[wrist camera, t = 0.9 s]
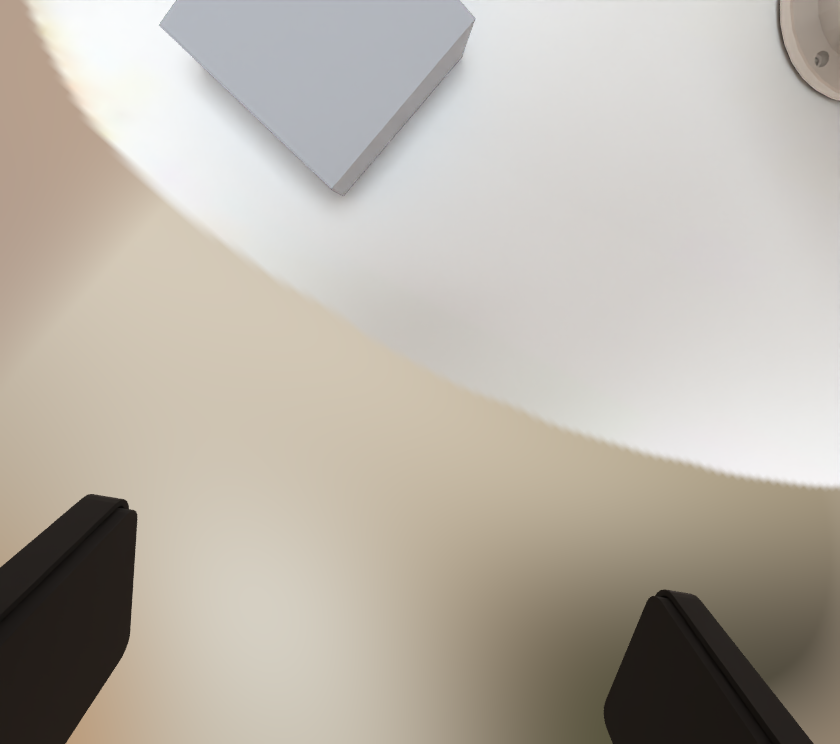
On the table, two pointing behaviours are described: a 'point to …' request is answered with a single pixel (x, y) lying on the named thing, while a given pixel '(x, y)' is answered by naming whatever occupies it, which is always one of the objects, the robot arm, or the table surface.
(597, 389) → the table surface
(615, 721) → the robot arm
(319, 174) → the slate base
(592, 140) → the table surface
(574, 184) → the table surface
